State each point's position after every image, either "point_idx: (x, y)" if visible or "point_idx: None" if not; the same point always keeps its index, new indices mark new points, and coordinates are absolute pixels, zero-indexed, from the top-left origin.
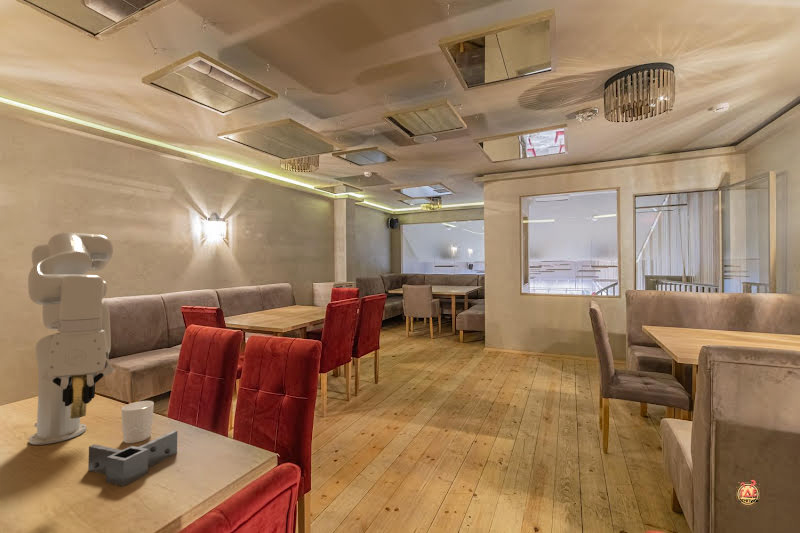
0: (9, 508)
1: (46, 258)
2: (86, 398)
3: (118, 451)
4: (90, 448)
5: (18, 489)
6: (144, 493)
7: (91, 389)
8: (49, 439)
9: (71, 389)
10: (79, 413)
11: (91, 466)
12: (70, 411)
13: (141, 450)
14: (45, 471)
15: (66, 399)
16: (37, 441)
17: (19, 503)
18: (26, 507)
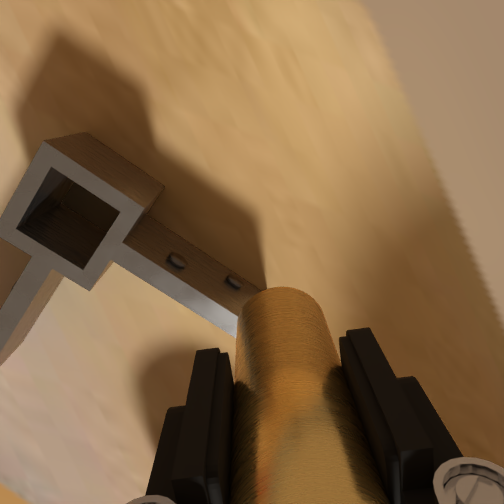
0: (403, 110)
1: None
2: (202, 376)
3: (120, 250)
4: None
5: (433, 233)
6: None
7: (162, 475)
8: None
9: (374, 476)
10: (258, 306)
11: (254, 292)
12: (327, 329)
13: (19, 230)
14: (404, 331)
15: (374, 360)
16: None
17: (387, 134)
18: (352, 97)
